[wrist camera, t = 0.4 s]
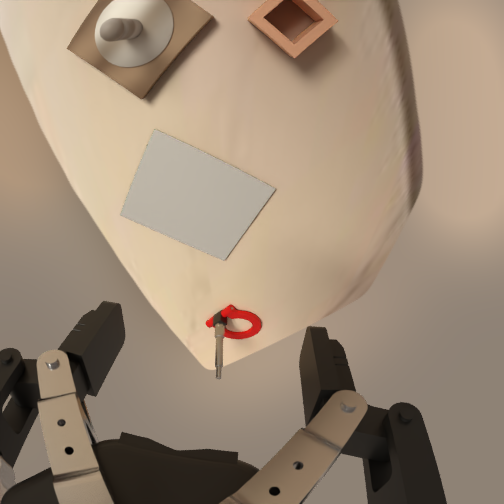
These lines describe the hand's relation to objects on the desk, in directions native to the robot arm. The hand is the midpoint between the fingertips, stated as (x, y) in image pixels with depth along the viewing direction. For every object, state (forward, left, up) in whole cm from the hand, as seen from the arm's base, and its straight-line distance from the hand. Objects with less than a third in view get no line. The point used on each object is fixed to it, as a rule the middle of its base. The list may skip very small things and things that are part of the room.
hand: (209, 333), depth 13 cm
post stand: (-17, +2, -28) cm, 32 cm away
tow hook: (+23, -27, -28) cm, 45 cm away
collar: (-5, +13, -28) cm, 31 cm away
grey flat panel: (+5, -6, -28) cm, 29 cm away
